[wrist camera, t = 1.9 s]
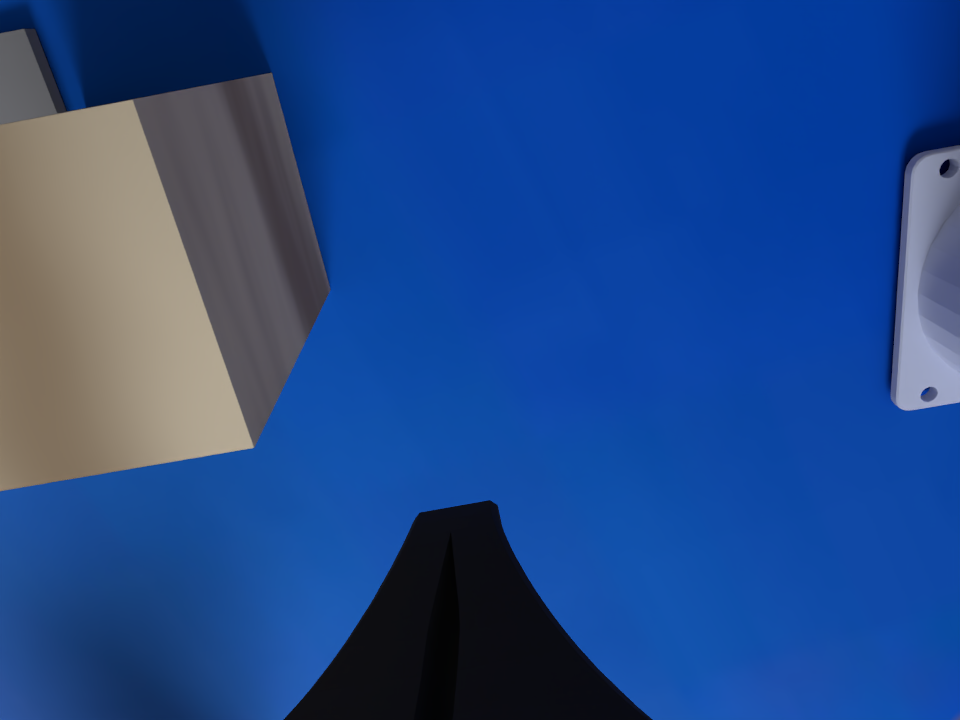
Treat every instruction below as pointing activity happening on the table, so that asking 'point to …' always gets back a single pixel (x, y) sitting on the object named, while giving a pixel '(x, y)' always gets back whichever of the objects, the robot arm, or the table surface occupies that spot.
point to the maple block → (149, 280)
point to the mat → (26, 79)
